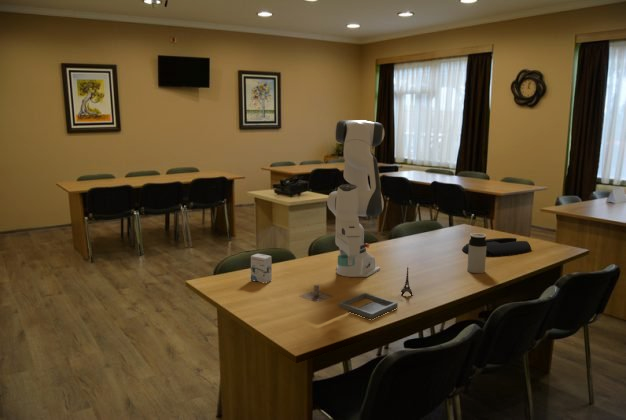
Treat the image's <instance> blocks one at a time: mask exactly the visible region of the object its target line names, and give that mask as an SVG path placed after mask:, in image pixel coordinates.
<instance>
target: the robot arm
mask: <svg viewBox="0 0 626 420" xmlns="http://www.w3.org/2000/svg"><path fill="white" fill-rule="evenodd" d="M333 133H334V137H335V140H336V141H337V142H338V143H339V144H343V157H344V158H343V159H344V165H343V178H344V180H345V181H346V182H347V183H345V184H341V185H339V186H338V187H337V190H335V191H332V192H330V193H329V195H328V196H327V200H326V205H327V207H328V210H329V211H331V213H332V214H333V215H334V216H335V238H334V240H335V246H337V247H338V250H339V251H338V256H339V255H345V254H346V255H347V256H348V260H347V264H348V265H352V261H353V258H354V257H355V265H354V266H349V267H347V266H346V267H345V266H340V265H338V264H337V266H336V267H335V270H336V274H338V275H339V276H343V277H350V278H356V277H357V278H358V277H359V278H367V277H369V276H371V275H372V274H374V273H375V274H376V272H378V271H380V270H381V266H379V265H377V264H376V260H375V256H373V254H371V253H369V252H368V251H367V249H366V248H370V244H371V243H367V242H366V243H364V242H365V240H364V239H365V229H364V227H363V225H362V224H361V223H360V219H359V217H371V218H376V217H377V216H379V215H380V214H382V213H383V210H384V205H385V202H384V198H383V195H382V189H381V179H380V178H381V177H380V170H379V164H378V160H377V157H375V156H374V155H373V154H372V152H371V149H375V147H378V146H379V145H381V144H382V142H383V140H384V137H385V128H384V125H383V124H382V123H380V122H376V121H374V122H373V121H368V120H365V119H364V120H363V119H360V120H359V119H357V120H356V119H355V120H353V119H350V120H349V119H347V120H346V119H340V120H338V121H337V123H336V125H335V127H334V131H333ZM371 147H372V148H371ZM368 176H369V179H368ZM369 182H370V185H369Z"/></svg>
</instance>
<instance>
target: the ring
mask: <svg viewBox="0 0 626 420" xmlns="http://www.w3.org/2000/svg"><path fill="white" fill-rule="evenodd" d="M347 260H348V256H347V255H346V254H345V255H339V254H338V256H337V265H340V266H345V267H346V266H347V267H349V266H354V265H355V257H354V258H353V261H352V265H348V264H347Z"/></svg>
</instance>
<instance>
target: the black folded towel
mask: <svg viewBox="0 0 626 420" xmlns="http://www.w3.org/2000/svg"><path fill="white" fill-rule="evenodd" d="M485 240H486V242H487V246H486V257H492V258H498V257H509V256H510V257H511V256H515V255H522V254H526V253H530V252H532V247H531V245H530V243H529V241H527V240H517V238H516V237H498V238H497V237H496V238H489V239H485ZM461 251H462V252H463V253H465V254H467V255H468V252H469V243H466V244H465V245H464V246H463V247H462V249H461Z"/></svg>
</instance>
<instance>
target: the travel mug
mask: <svg viewBox="0 0 626 420" xmlns="http://www.w3.org/2000/svg"><path fill="white" fill-rule="evenodd" d="M469 236H470V239H469V241H468V244H469V252H468V254H467V255H468V256H467V271H468V272H470V273H471V274H483V273H485V272H486V259H487V256H486V246H487V242H486V238H487V234H485V233H481V232H480V233H478V232H472V233H470V234H469Z"/></svg>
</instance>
